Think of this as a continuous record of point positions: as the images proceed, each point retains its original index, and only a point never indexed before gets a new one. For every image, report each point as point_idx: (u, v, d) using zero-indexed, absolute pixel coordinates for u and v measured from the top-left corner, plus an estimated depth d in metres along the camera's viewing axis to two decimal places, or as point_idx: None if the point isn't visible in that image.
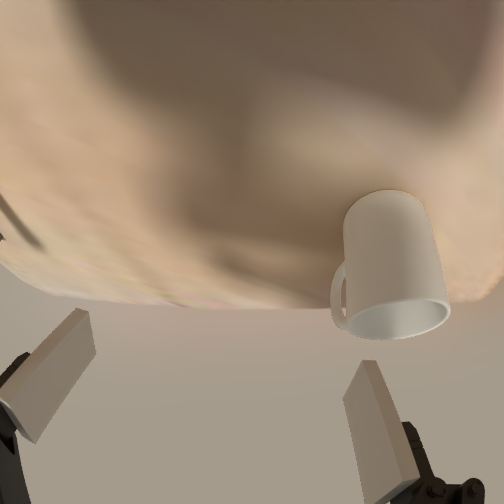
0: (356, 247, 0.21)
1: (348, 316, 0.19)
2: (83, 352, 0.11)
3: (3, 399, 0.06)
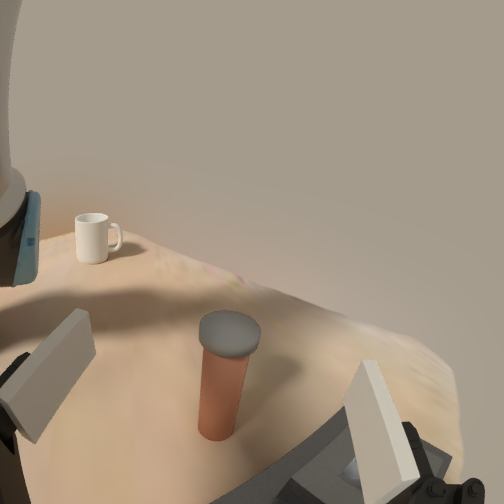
0: (90, 245, 0.57)
1: (96, 223, 0.56)
2: (83, 352, 0.11)
3: (3, 399, 0.06)
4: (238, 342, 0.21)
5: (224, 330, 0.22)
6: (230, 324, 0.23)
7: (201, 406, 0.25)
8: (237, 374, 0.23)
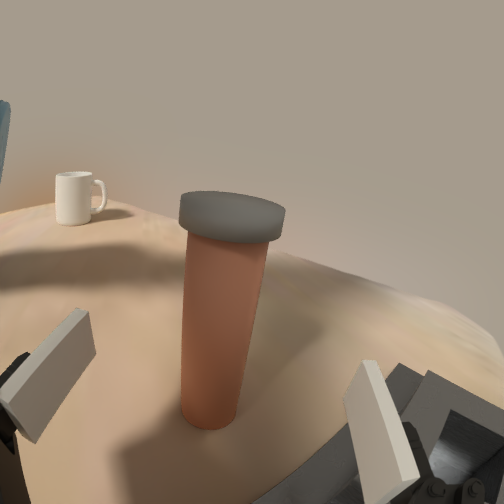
0: (69, 203, 0.47)
1: (78, 178, 0.47)
2: (83, 352, 0.11)
3: (3, 399, 0.06)
4: (249, 211, 0.12)
5: (223, 202, 0.13)
6: (233, 199, 0.14)
7: (182, 368, 0.16)
8: (244, 289, 0.13)
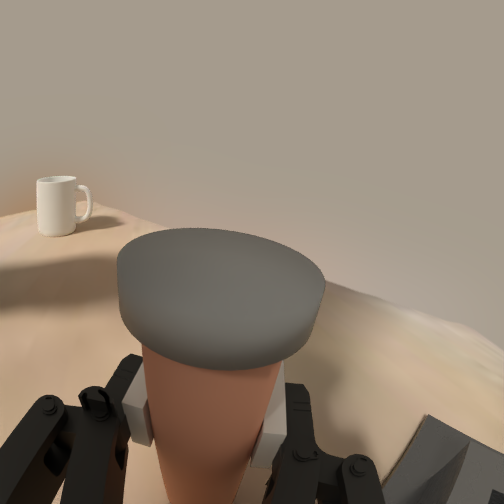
0: (51, 211, 0.41)
1: (60, 183, 0.40)
2: None
3: (134, 405, 0.08)
4: (253, 303, 0.05)
5: (200, 266, 0.06)
6: (223, 253, 0.07)
7: (161, 469, 0.09)
8: (244, 417, 0.07)
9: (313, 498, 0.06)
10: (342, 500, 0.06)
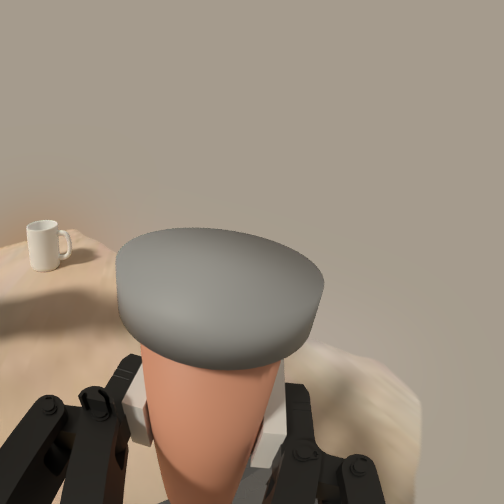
0: (39, 253, 0.51)
1: (44, 231, 0.50)
2: None
3: (134, 405, 0.08)
4: (252, 302, 0.05)
5: (199, 265, 0.06)
6: (222, 253, 0.07)
7: (160, 469, 0.09)
8: (244, 416, 0.07)
9: (313, 498, 0.06)
10: (342, 500, 0.06)
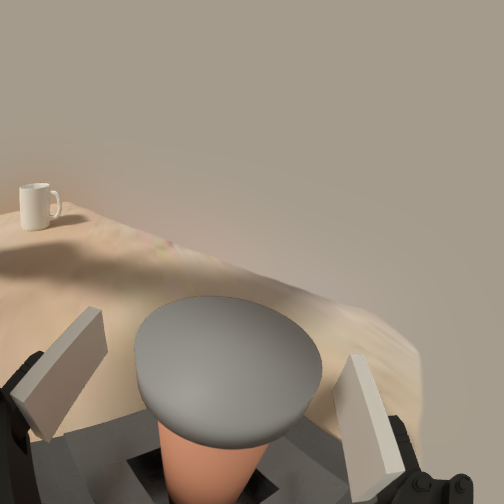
0: (29, 211, 0.50)
1: (36, 190, 0.49)
2: (95, 350, 0.12)
3: (18, 398, 0.06)
4: (260, 404, 0.06)
5: (211, 357, 0.07)
6: (231, 337, 0.08)
7: (167, 488, 0.10)
8: (246, 464, 0.07)
9: None
10: None
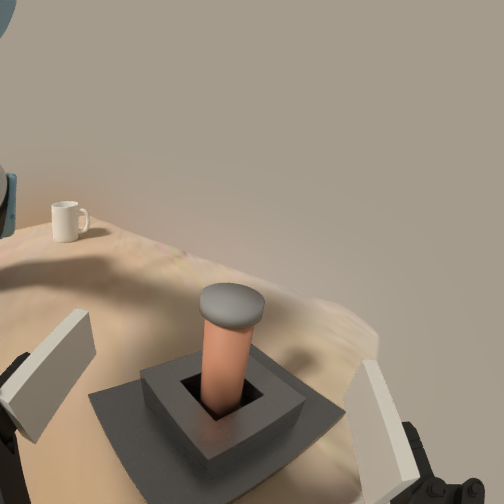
0: (62, 226, 0.65)
1: (67, 208, 0.64)
2: (83, 352, 0.11)
3: (3, 399, 0.06)
4: (241, 310, 0.20)
5: (226, 300, 0.22)
6: (232, 294, 0.22)
7: (202, 390, 0.24)
8: (240, 349, 0.22)
9: None
10: None
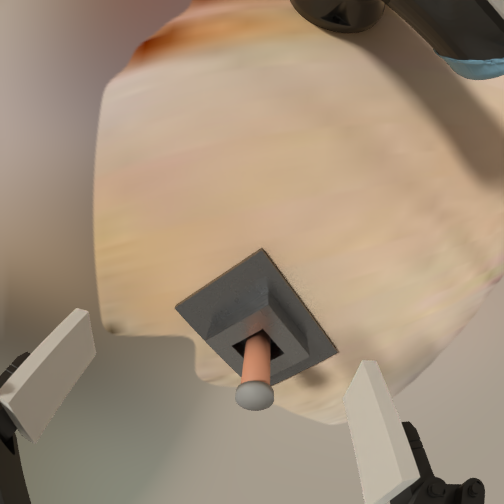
0: None
1: None
2: (83, 352, 0.11)
3: (3, 399, 0.06)
4: (239, 401, 0.34)
5: (250, 397, 0.33)
6: (257, 399, 0.34)
7: (252, 342, 0.42)
8: None
9: None
10: None
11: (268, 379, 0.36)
